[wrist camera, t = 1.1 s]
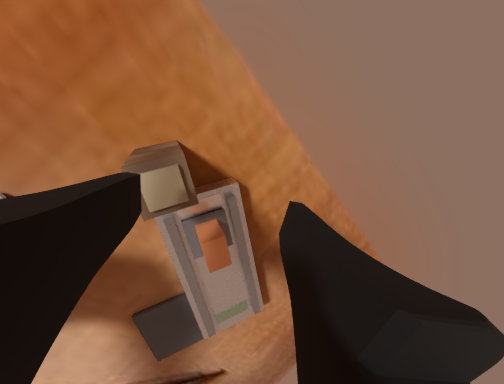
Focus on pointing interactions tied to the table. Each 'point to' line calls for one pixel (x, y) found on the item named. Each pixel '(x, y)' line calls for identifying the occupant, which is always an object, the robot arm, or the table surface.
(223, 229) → the lever
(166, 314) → the rubber pad
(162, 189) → the brown rectangular block
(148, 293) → the table surface
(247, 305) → the breaker panel
